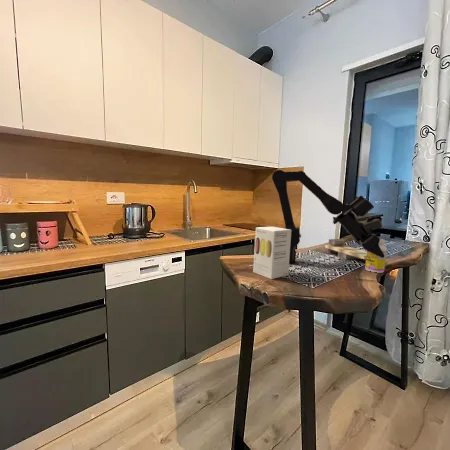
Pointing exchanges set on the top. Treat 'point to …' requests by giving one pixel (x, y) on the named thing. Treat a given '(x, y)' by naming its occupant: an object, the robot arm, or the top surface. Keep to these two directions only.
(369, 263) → the supplement bottle
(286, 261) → the supplement box
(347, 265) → the top surface
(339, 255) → the balance beam
